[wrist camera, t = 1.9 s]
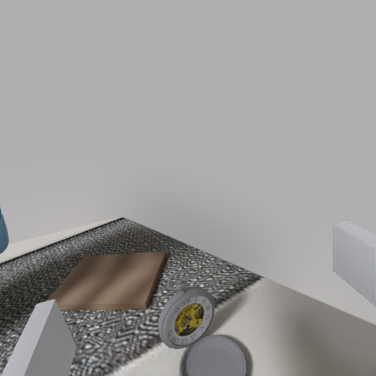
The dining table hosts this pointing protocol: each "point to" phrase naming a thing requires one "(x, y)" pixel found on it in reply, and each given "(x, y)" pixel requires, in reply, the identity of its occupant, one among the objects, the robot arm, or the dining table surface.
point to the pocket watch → (198, 334)
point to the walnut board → (110, 282)
